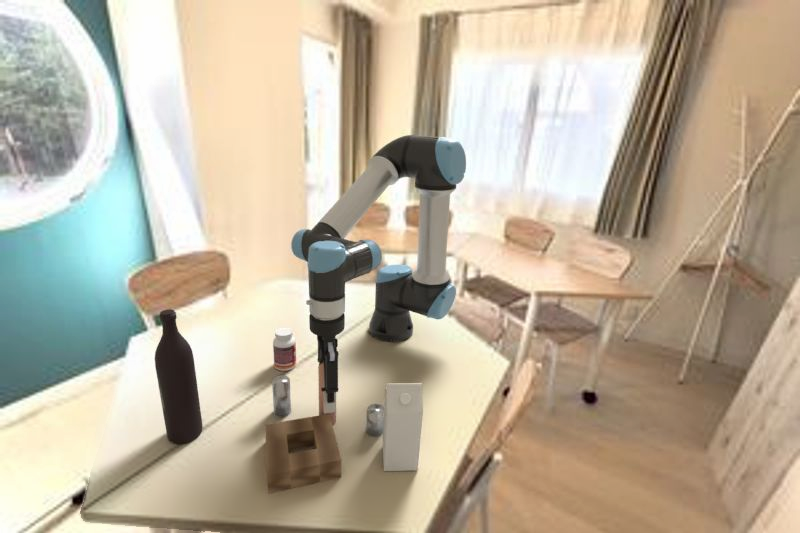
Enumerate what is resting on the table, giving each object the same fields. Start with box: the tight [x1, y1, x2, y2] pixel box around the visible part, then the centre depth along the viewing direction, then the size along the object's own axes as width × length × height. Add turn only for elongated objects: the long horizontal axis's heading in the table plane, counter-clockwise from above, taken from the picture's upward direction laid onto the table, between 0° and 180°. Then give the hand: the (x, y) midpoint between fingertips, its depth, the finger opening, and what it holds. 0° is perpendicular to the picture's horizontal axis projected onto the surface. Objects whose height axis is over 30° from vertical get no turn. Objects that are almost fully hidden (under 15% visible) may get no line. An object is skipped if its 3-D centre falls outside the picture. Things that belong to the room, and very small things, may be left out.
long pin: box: [317, 363, 337, 426], centre depth 95 cm, size 4×4×15 cm
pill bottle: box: [272, 327, 297, 372], centre depth 117 cm, size 6×6×11 cm
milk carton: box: [381, 382, 424, 472], centre depth 85 cm, size 7×7×19 cm
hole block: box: [264, 414, 342, 494], centre depth 86 cm, size 14×14×4 cm
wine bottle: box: [154, 308, 204, 445], centre depth 87 cm, size 7×7×30 cm
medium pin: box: [271, 374, 292, 418], centre depth 99 cm, size 4×4×9 cm
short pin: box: [365, 403, 384, 438], centre depth 95 cm, size 4×4×6 cm
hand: (327, 402), depth 96 cm, fingers open, 6 cm apart
